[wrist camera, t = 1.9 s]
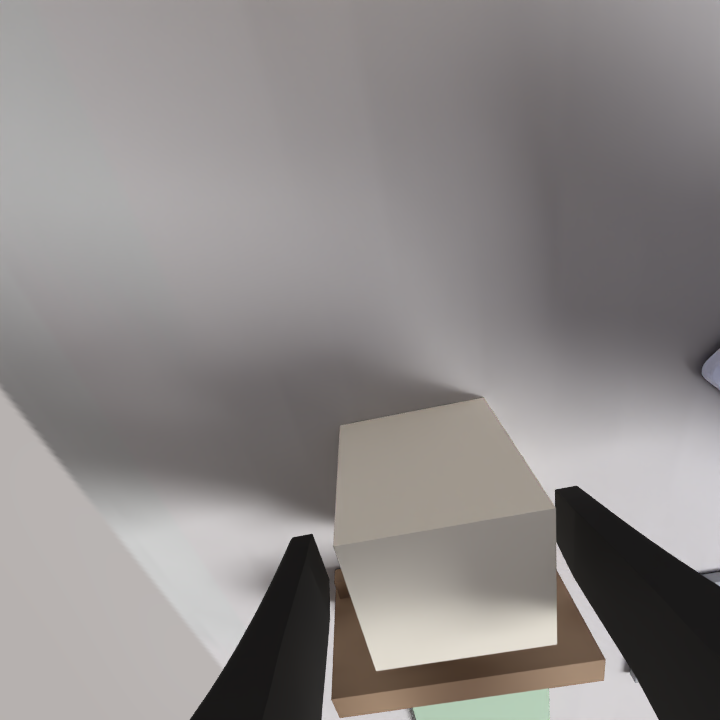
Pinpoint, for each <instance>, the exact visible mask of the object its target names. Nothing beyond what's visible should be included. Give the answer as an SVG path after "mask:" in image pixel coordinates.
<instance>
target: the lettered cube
mask: <svg viewBox="0 0 720 720" xmlns="http://www.w3.org/2000/svg"><path fill="white" fill-rule="evenodd" d="M333 547H334V550H335V553H336V556H337V559H338V562H339V565H340V568H341V571H342V573H343V576H344V579H345V582H346V585H347V588H348V591H349V594H350V597H351V600H352V603H353V605H354V608H355V611H356V614H357V617H358V620H359V623H360V626H361V629H362V632H363V634H364V637H365V640H366V643H367V646H368V649H369V652H370V655H371V658H372V661H373V664H374V666H375V669H376V671H381V670H388V669H394V668H401V667H408V666H415V665H421V664H428V663H435V662H442V661H448V660H455V659H462V658H469V657H476V656H482V655H489V654H496V653H503V652H509V651H516V650H523V649H530V648H536V647H543V646H550V645H557V582H556V508H555V506H554V505H553V503H552V501H551V500H550V498H549V497H548V495H547V494H546V492H545V491H544V489H543V488H542V486H541V485H540V483H539V481H538V480H537V478H536V477H535V475H534V474H533V472H532V471H531V469H530V468H529V466H528V465H527V463H526V461H525V460H524V458H523V457H522V455H521V454H520V452H519V451H518V449H517V448H516V446H515V445H514V443H513V441H512V440H511V438H510V437H509V435H508V434H507V432H506V431H505V429H504V428H503V426H502V425H501V423H500V421H499V420H498V418H497V417H496V415H495V414H494V412H493V411H492V409H491V408H490V406H489V405H488V403H487V401H486V400H485V398H484V397H483V398H478V399H473V400H468V401H463V402H458V403H452V404H447V405H442V406H437V407H432V408H427V409H422V410H417V411H411V412H406V413H401V414H396V415H391V416H386V417H381V418H376V419H370V420H365V421H360V422H355V423H350V424H345V425H340V432H339V450H338V468H337V487H336V505H335V523H334V541H333Z"/></svg>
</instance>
